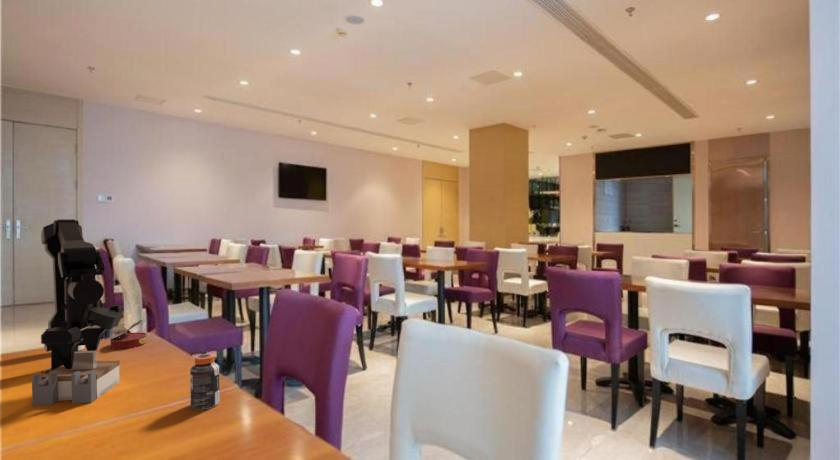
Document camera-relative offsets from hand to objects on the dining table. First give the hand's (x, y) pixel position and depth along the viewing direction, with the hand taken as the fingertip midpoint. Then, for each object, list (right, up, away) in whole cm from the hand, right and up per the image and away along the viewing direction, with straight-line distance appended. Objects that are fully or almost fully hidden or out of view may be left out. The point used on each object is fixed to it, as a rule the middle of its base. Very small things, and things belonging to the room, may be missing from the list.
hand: (81, 362), depth 106 cm
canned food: (-14, -6, +38) cm, 41 cm away
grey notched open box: (0, -7, -1) cm, 7 cm away
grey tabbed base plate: (0, -3, -1) cm, 3 cm away
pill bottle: (+33, -8, -7) cm, 35 cm away
